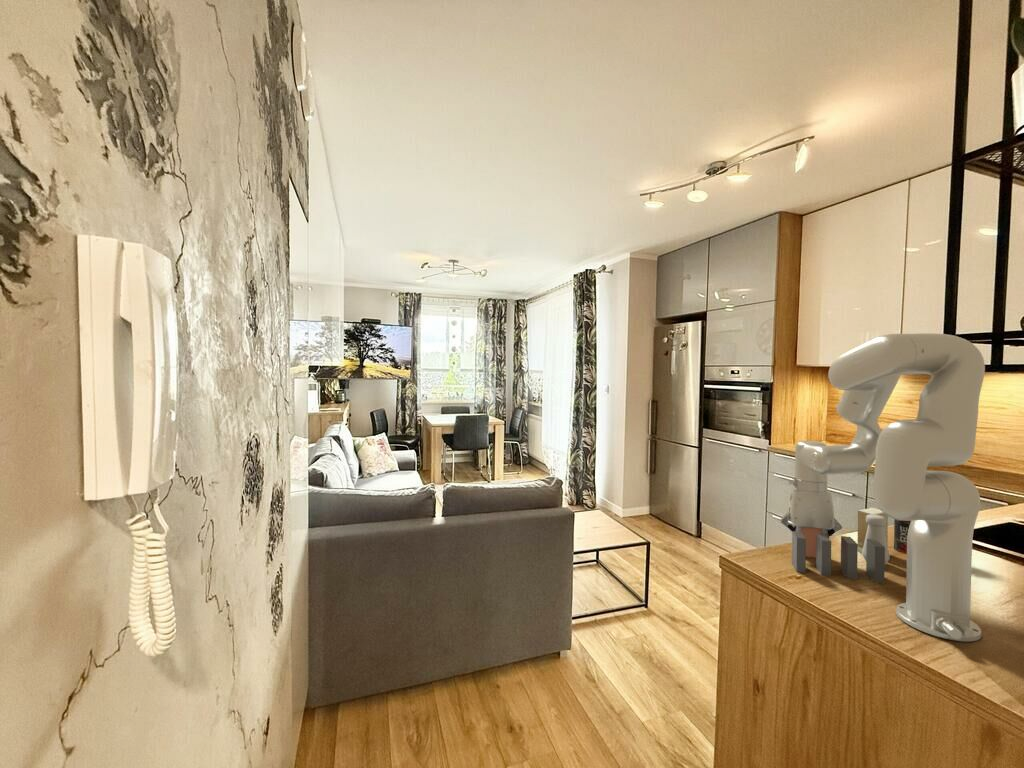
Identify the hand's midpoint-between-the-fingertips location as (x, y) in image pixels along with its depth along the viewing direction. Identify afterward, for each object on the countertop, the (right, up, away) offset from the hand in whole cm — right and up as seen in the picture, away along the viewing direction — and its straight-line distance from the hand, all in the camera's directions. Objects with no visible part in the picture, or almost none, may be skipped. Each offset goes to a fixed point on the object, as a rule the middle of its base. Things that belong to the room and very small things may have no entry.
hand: (810, 549), depth 124 cm
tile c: (+2, -2, -11) cm, 12 cm away
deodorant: (+30, -2, +3) cm, 30 cm away
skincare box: (+19, -2, +2) cm, 19 cm away
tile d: (+7, -2, -13) cm, 15 cm away
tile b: (-3, -2, -9) cm, 10 cm away
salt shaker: (+14, -2, -5) cm, 15 cm away
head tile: (0, -2, 0) cm, 2 cm away
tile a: (-8, -2, -8) cm, 11 cm away
